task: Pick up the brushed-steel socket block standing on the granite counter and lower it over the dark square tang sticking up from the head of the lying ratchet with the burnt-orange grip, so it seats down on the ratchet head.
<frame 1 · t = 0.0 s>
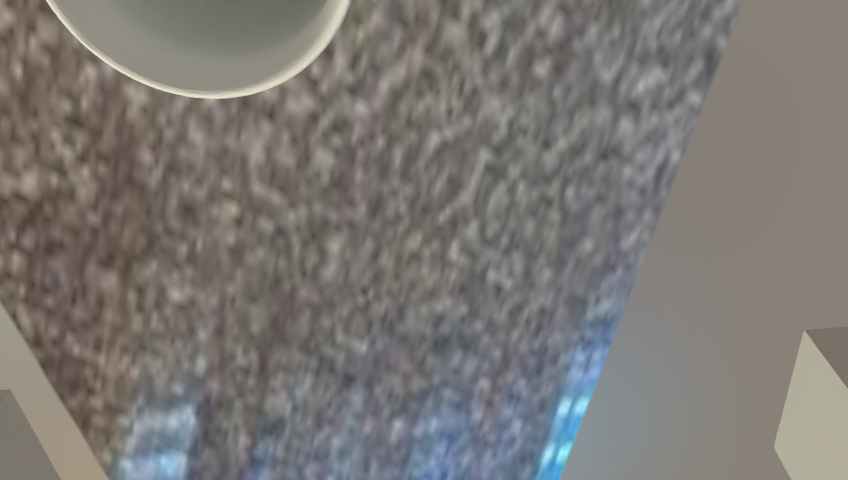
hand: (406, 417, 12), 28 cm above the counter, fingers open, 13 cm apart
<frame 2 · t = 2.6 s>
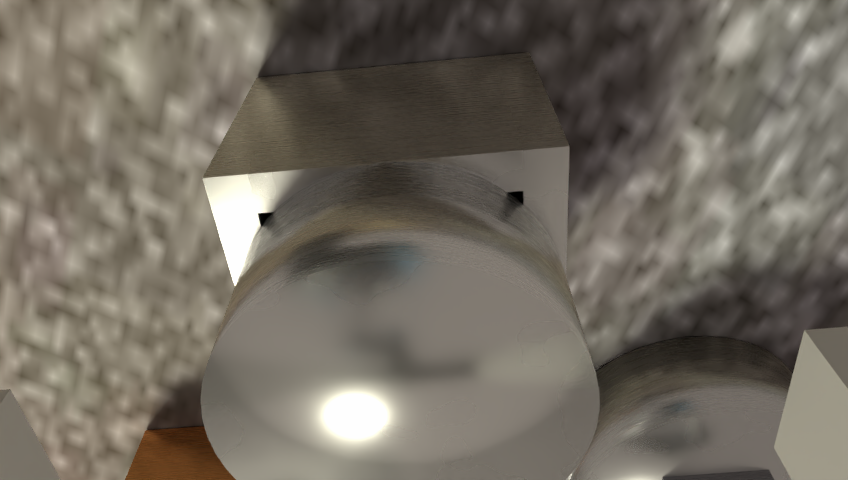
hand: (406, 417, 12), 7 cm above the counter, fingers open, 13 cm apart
socket: (406, 185, 18), on the counter
ratchet: (676, 427, 23), on the counter
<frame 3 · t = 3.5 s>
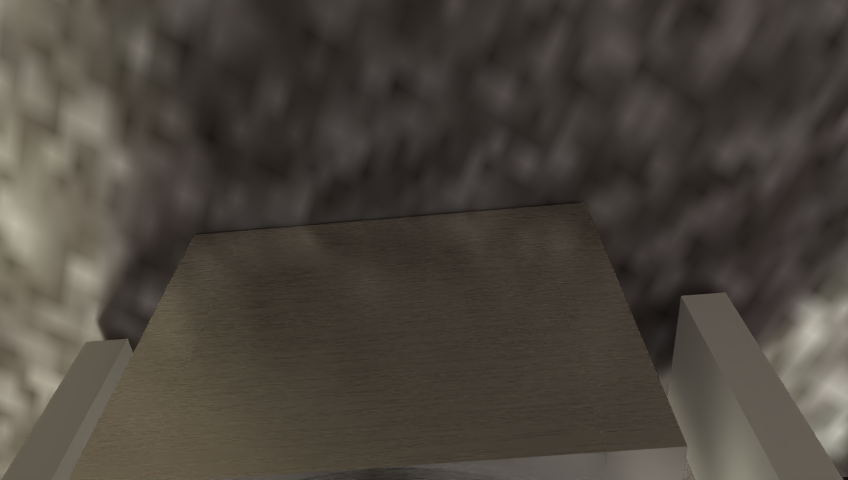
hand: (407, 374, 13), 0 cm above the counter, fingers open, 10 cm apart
socket: (407, 365, 13), on the counter
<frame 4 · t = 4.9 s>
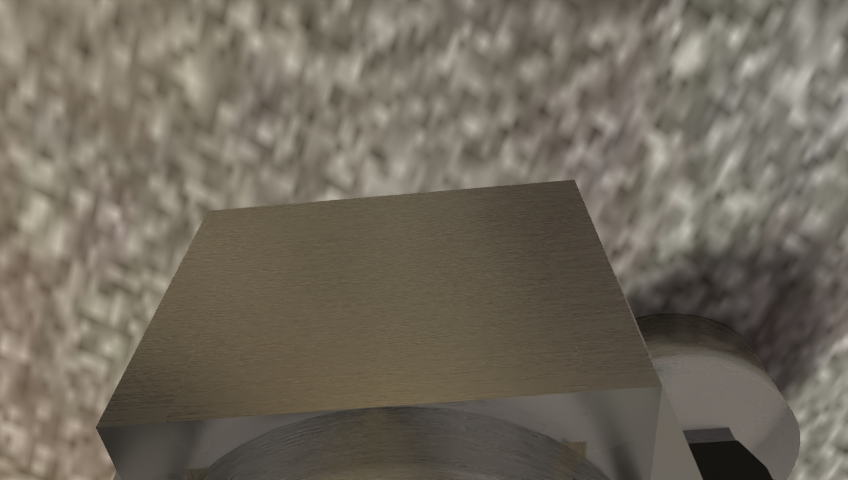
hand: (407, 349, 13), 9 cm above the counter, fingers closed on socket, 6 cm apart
socket: (408, 337, 14), point 9 cm above the counter, touching gripper
ratchet: (652, 399, 26), on the counter
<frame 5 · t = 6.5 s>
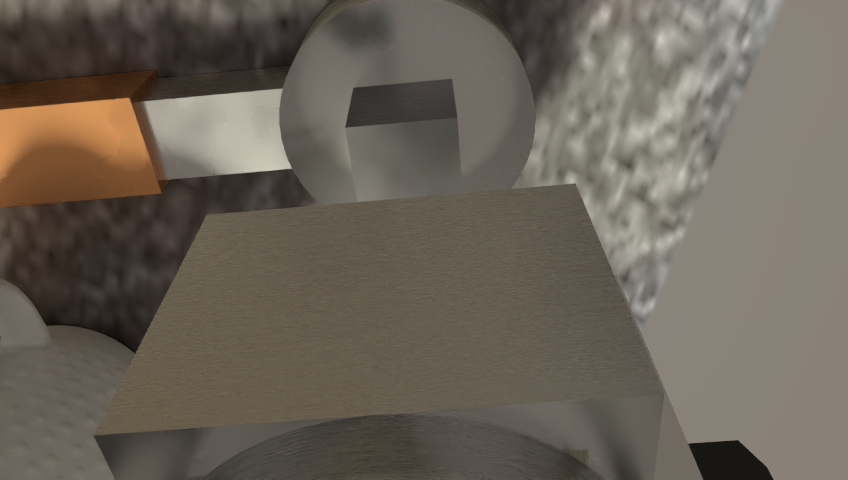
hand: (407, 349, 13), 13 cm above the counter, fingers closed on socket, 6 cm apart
mug: (77, 359, 31), on the counter
socket: (408, 341, 14), point 13 cm above the counter, touching gripper
ratchet: (408, 94, 24), on the counter
when the fingers open (4 cm above the counter, at t = 8.3 s): socket stays where it is, resting on ratchet.
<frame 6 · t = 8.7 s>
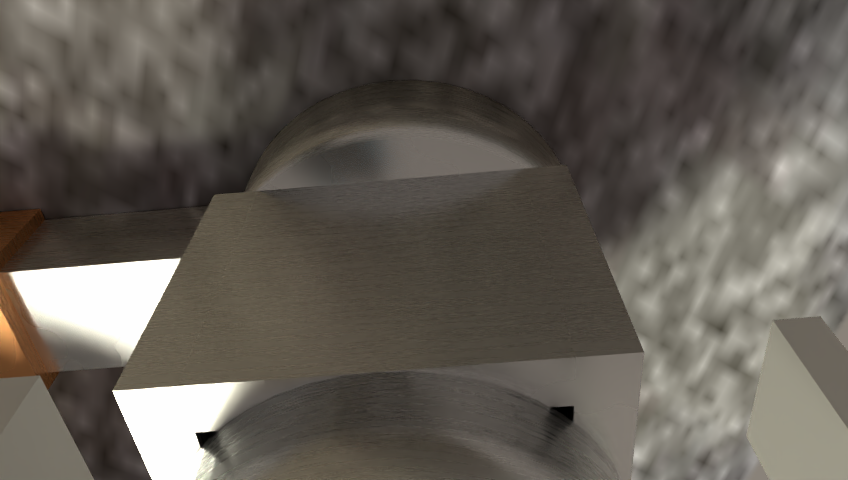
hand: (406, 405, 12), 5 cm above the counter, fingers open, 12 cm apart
socket: (406, 318, 14), point 3 cm above the counter, touching ratchet
ratchet: (409, 240, 17), on the counter
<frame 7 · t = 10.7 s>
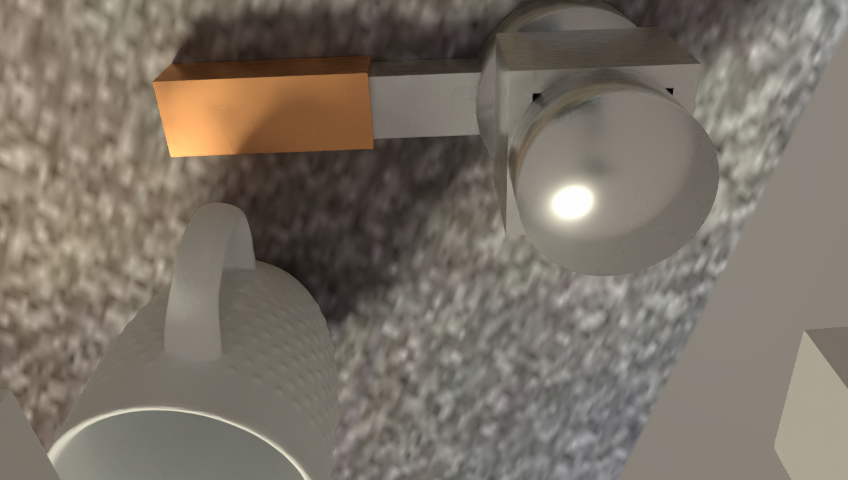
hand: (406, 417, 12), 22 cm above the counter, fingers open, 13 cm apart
mug: (252, 291, 38), on the counter
socket: (570, 107, 29), point 3 cm above the counter, touching ratchet
ratchet: (559, 84, 32), on the counter
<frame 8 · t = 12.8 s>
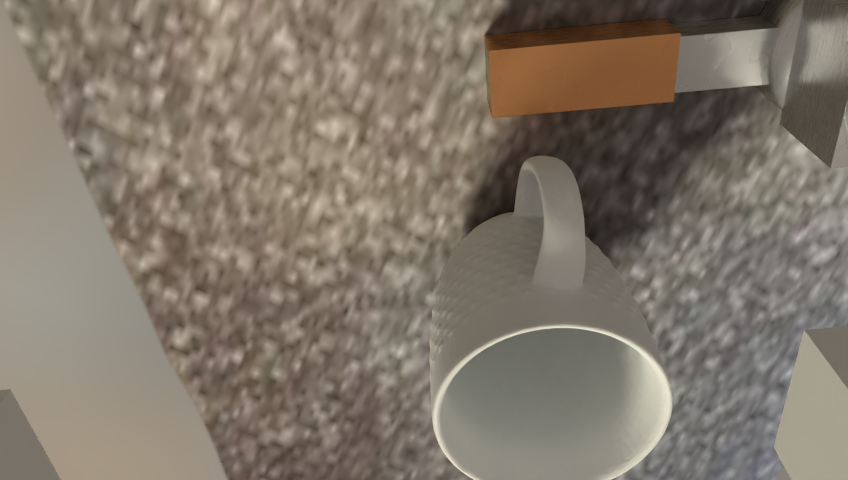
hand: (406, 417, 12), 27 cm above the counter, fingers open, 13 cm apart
mug: (518, 241, 42), on the counter
ratchet: (829, 36, 35), on the counter
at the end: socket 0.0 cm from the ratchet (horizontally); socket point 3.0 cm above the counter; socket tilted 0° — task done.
